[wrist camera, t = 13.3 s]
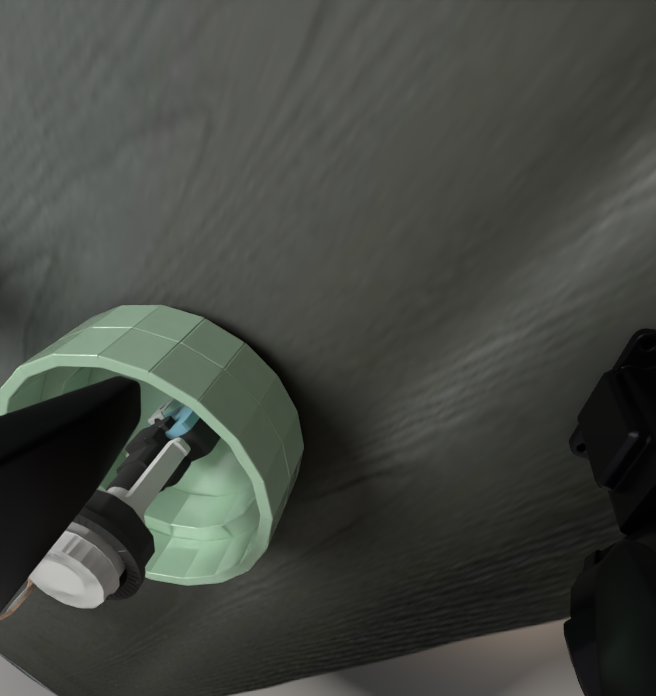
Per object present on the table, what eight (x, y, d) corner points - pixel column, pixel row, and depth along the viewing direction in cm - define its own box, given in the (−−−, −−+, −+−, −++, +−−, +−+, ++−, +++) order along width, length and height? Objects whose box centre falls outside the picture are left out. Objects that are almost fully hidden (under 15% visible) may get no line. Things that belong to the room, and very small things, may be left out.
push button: (173, 473, 30) (56, 635, 21) (112, 407, 28) (-40, 554, 20) (253, 438, 27) (152, 611, 18) (189, 362, 25) (48, 513, 17)
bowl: (328, 347, 23) (292, 417, 19) (286, 535, 31) (253, 618, 26) (59, 266, 25) (-34, 313, 20) (82, 464, 33) (18, 530, 28)
